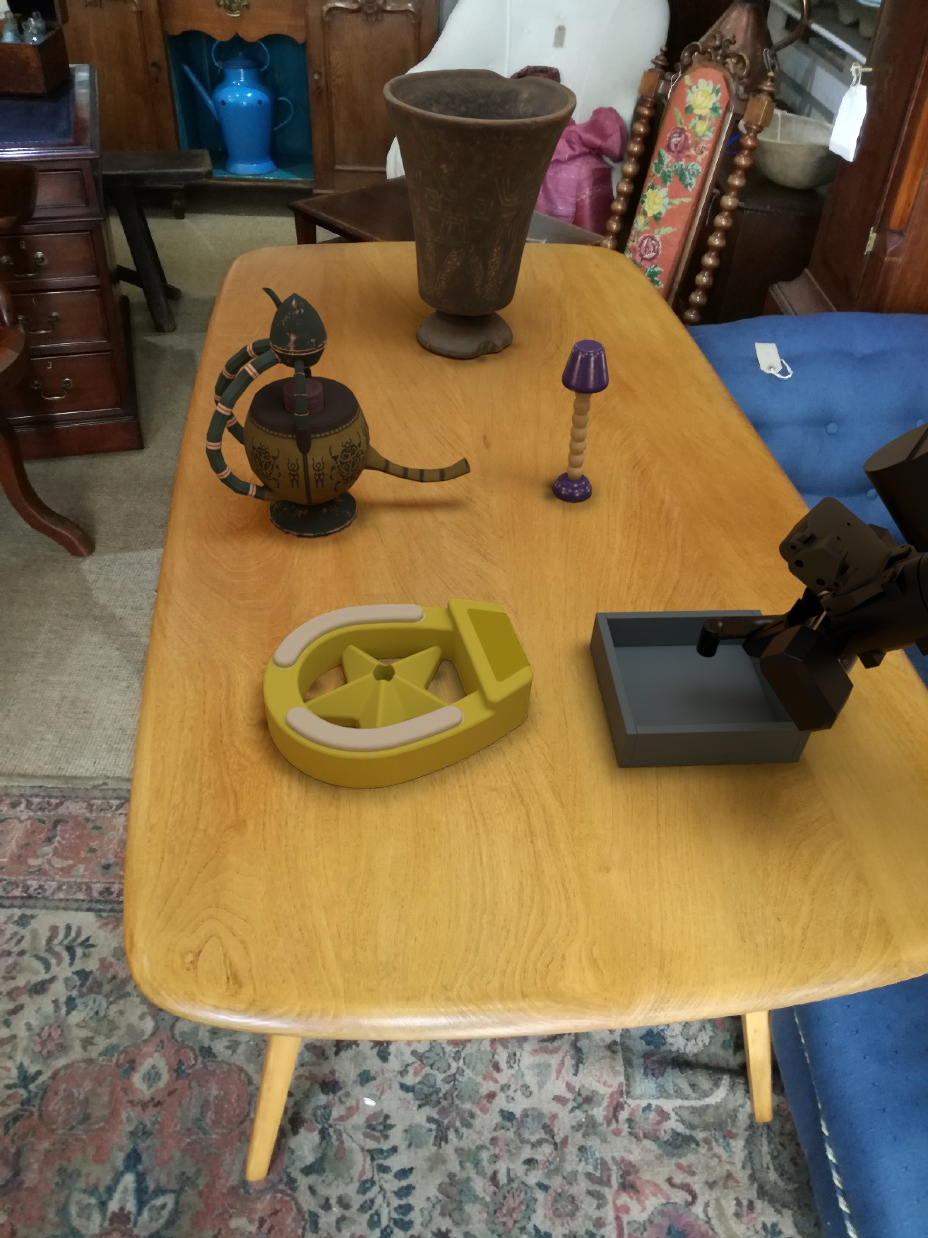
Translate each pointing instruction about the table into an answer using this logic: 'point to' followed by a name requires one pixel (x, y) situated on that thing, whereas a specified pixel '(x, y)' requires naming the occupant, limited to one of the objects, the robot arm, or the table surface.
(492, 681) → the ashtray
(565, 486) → the toy lamp
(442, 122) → the vase
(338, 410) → the teapot
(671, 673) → the sink
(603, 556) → the table surface
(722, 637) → the spout
